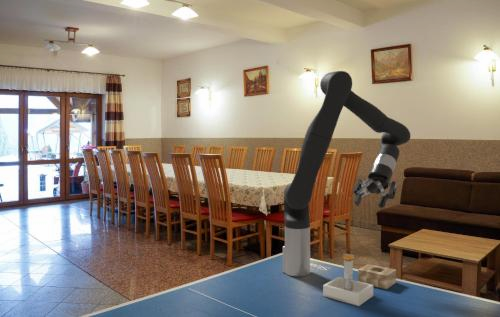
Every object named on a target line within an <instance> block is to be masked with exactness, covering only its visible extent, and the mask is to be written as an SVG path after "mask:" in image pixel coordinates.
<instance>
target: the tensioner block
mask: <svg viewBox="0 0 500 317" xmlns="http://www.w3.org/2000/svg"><path fill="white" fill-rule="evenodd" d="M357 281H359V282H363V283H367V284H372V285H373V287H375V288H379V289H383V290H388V289H389V288H391V287H392V286H393V285H395V284H396V283H397V269H395V268H391V267H386V266H380V265H374V264H370V263H367V264H366V265H364V266H361V267H360V268H359V269H357Z"/></svg>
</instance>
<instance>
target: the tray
mask: <svg viewBox="0 0 500 317" xmlns="http://www.w3.org/2000/svg"><path fill="white" fill-rule="evenodd" d="M322 288H323V289H322V296H323V297H325V298H328V299H332V300H336V301H339V302H343V303H347V304H350V305H353V306H357V307H360V306H362V304H364V303H365V302H366V301H368V300H369V299H371V298H372V297H374V286H373V285H372V284H367V283H363V282H359V281H358V280H354V279H353V292H352V291H348V290H344V277H342V276H338V277H336V278H334V279H332V280H330V281H328V282H327V283H325V284H323V285H322Z"/></svg>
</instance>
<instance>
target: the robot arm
mask: <svg viewBox="0 0 500 317" xmlns="http://www.w3.org/2000/svg"><path fill="white" fill-rule="evenodd" d="M319 82H320V90H321V92H322V93H323V94H324V95H325V96H324V99H323V102H322V105H321V107H320V109H319V110H318V112H317V113H316V115H315V116H314V117H313V119H312V120H311V122H310V123H309V126H308V127H307V130H306V133H305V135H304V137H303V141H302V144H301V149H300V153H299V158H298V165H297V169H296V172H295V174H294V177H293V178H292V181H291V182H290V183H289V184H288V185H287V186H286V187H284V188H285V189H284V192H283V218H284V245H283V246H282V273H284V274H286V275H287V276H291V277H306V276H308V275H310V274H311V217H310V203H311V200H312V196H313V191H314V187H315V184H316V180H317V176H318V173H319V171H320V169H321V166H322V164H323V162H324V160H325V157H326V155H327V153H328V150H329V147H330V144H331V142H332V139H333V135H334V132H335V129H336V127H337V124H338V121H339V118H340V116H341V112H342V110H343V108H346V109H347V110H348V111H350V112H351V113H352V114H353V115H355V117H357V118H358V119H360V120H361V121H362V123H365V124H366V125H367V126H368V127H369V128H370V129H371V130H372V131H374V132H375V133H376V134H377V133H379V134H382V133H383V134H382V135H381V137H380V146H379V151H378V153H377V156H376V158H375V159H374V162H373V164H372V165H371V169H370V171H369V173H368V177H367V178H366V180H362V178H359V179H357V181H356V183H355V185H354V188H353V189H352V192H353V195H354V196H355V198H354V200H353V202H354V204H355V207H356V206H357V207H359V206H360V204H361V202H362V199H363V197H364V196H368V195H370V194H378V195H379V194H381V196H380V199H379V202H378V207H379V209H383V208H384V207H385V206H386V205H387V204H386V203H387V201H388V200H389V199H390V200H394V199H395V195H396V193H397V189H398V185H397V183H396V181H395V180H393V181H391V180H392V177H393V176H394V175H393V174H394V172H395V169H396V164H397V162H398V159H399V156H400V149H399V146H401V145H404V144H406V143H408V142H409V141H410V140H411V132H410V130H409V128H408V127H407V125H404V124H403V123H401V122H399V121H397V120H396V119H393V118H390V117H388V116H387V115H386V114H385V113H384V112H383V111H382V110H381V109H379V108H378V107H377V106H376V105H374V104H372V103H371V102H369V101H368V100H365V99H364V98H363V97H361V96H359V95H358V94H356V93H355V91H353V90H352V89H353V79H352V77H351V75H350V73H349V72H347V71H343V70H337V71H332V72H328V73H326V74H324V75H323V76H322V77H321V79H320V81H319ZM388 188H389V191H388V193H387V192H386V190H387V189H388Z"/></svg>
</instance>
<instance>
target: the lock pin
mask: <svg viewBox="0 0 500 317" xmlns="http://www.w3.org/2000/svg"><path fill="white" fill-rule="evenodd" d="M354 259H355V255H354V254H351V253H344V254H342V260H343V278H344V290H348V291H352V292H353V280H354Z"/></svg>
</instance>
